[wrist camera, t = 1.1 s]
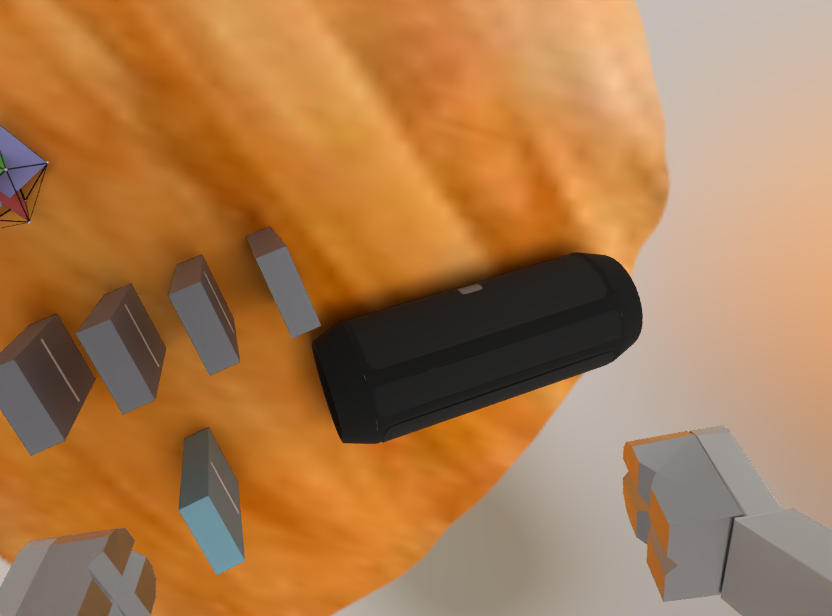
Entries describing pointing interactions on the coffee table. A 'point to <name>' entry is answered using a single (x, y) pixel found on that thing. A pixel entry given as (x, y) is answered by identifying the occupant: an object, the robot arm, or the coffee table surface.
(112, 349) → the domino
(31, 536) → the coffee table surface
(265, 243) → the domino
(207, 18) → the coffee table surface
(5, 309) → the coffee table surface
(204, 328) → the domino
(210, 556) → the domino
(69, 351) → the domino
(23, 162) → the geometric puzzle
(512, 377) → the portable speaker
